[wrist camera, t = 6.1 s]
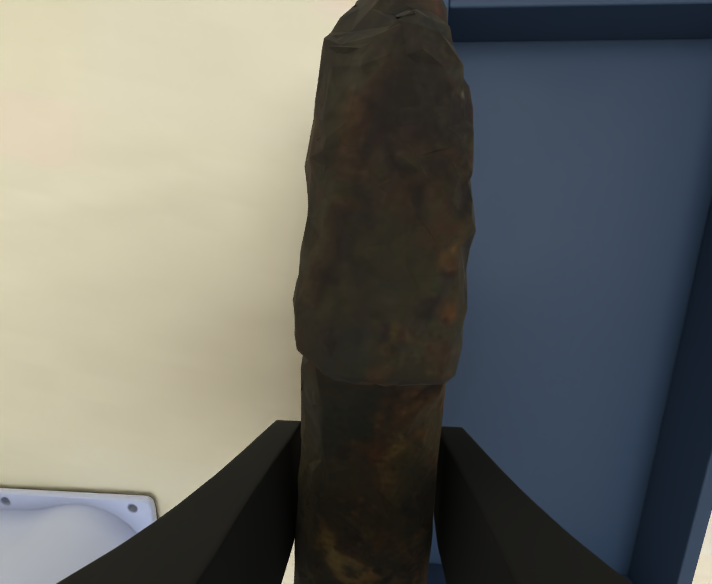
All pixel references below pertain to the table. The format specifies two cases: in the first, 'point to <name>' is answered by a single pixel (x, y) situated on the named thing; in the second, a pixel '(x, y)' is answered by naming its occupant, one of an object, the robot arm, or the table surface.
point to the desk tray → (592, 270)
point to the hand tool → (380, 290)
